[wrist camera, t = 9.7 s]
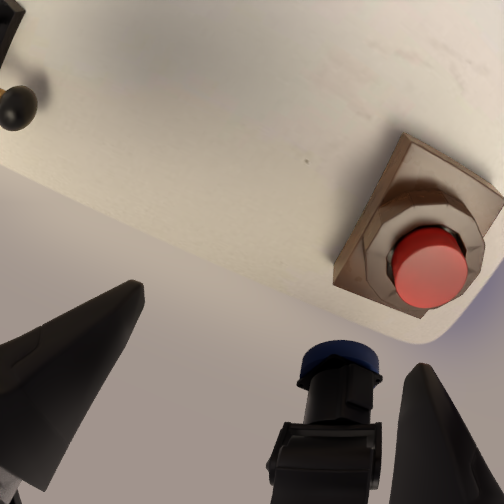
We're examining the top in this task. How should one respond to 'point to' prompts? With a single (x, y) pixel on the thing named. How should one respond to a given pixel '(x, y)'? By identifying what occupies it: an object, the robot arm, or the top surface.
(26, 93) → the lever
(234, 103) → the top surface
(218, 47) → the top surface
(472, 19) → the top surface
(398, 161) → the button block
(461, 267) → the button
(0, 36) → the bracket
